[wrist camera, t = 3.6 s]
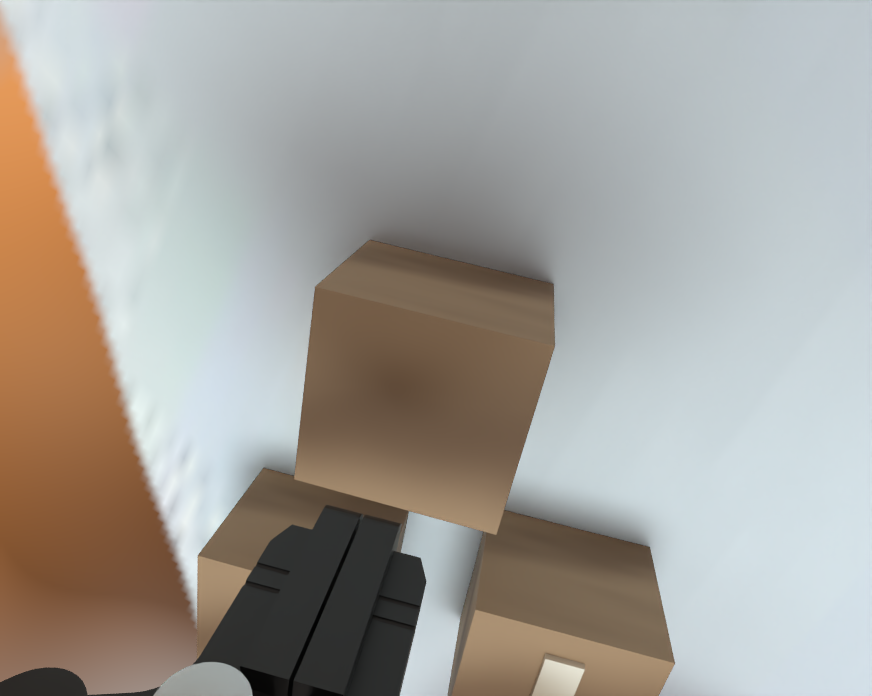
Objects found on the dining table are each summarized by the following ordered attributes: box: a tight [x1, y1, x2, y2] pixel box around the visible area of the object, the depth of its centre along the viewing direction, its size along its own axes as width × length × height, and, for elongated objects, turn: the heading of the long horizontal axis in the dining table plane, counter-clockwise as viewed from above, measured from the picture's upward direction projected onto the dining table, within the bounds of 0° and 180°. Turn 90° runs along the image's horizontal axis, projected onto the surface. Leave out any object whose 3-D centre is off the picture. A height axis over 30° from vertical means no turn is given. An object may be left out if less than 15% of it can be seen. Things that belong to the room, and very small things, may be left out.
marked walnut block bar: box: [448, 510, 675, 696], centre depth 21 cm, size 6×6×5 cm
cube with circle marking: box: [197, 468, 409, 659], centre depth 22 cm, size 6×6×5 cm
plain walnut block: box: [294, 240, 555, 535], centre depth 18 cm, size 6×6×5 cm
